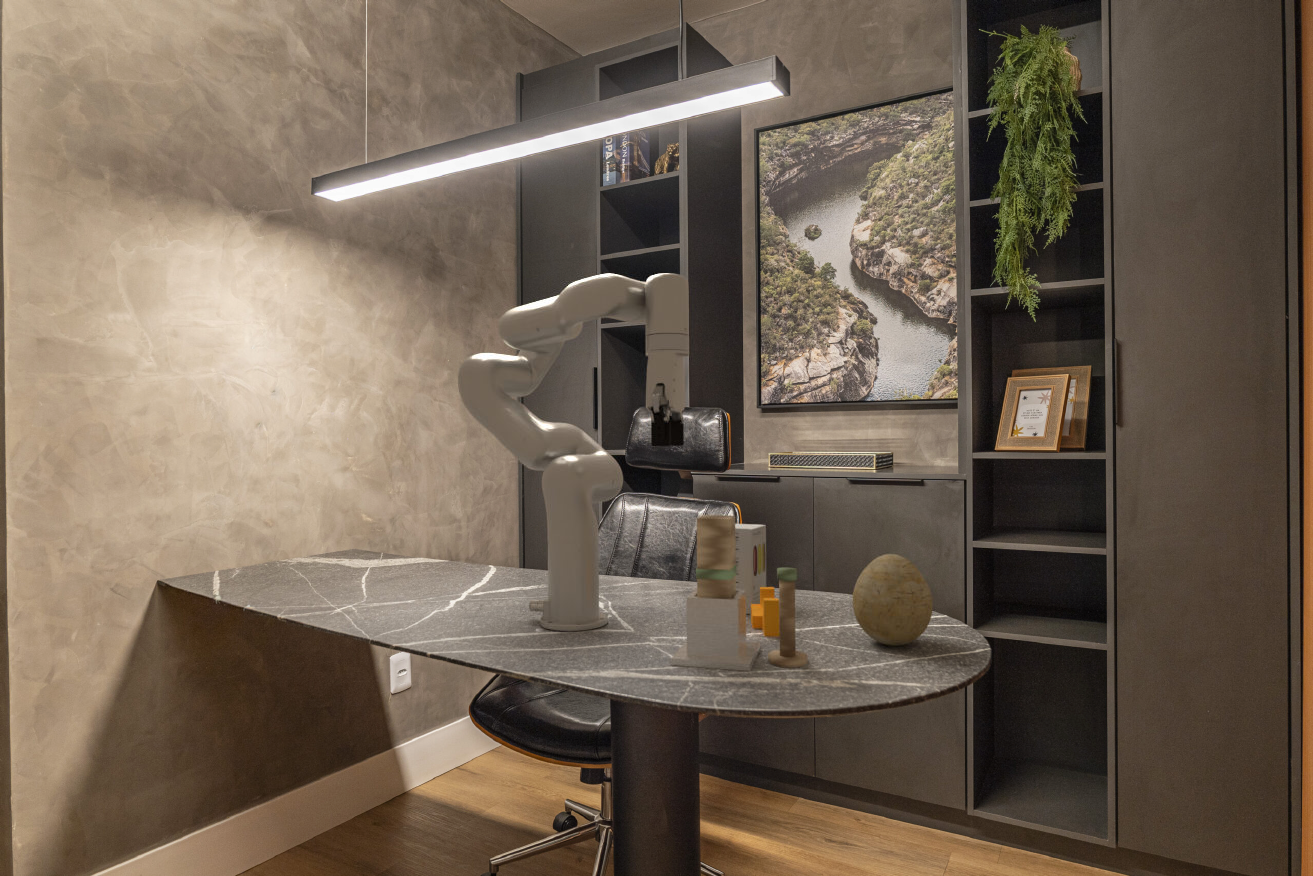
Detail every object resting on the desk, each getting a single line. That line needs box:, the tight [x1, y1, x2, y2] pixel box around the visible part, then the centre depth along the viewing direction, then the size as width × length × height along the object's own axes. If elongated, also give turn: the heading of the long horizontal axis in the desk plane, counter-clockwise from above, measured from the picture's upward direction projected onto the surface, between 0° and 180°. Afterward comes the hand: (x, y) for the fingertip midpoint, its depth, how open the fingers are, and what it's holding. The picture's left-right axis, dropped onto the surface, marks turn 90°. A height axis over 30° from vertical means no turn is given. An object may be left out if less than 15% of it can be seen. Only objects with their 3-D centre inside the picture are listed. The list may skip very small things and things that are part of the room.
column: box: [695, 514, 737, 598], centre depth 118 cm, size 6×6×15 cm
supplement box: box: [735, 523, 767, 615], centre depth 153 cm, size 10×9×17 cm
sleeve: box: [670, 587, 761, 672], centre depth 118 cm, size 12×12×10 cm
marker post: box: [767, 567, 809, 669], centre depth 115 cm, size 6×6×14 cm
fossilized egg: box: [852, 553, 934, 647], centre depth 125 cm, size 13×13×15 cm
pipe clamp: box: [750, 586, 780, 638], centre depth 136 cm, size 12×4×6 cm, turn 176°
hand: (668, 445), depth 130 cm, fingers open, 9 cm apart
